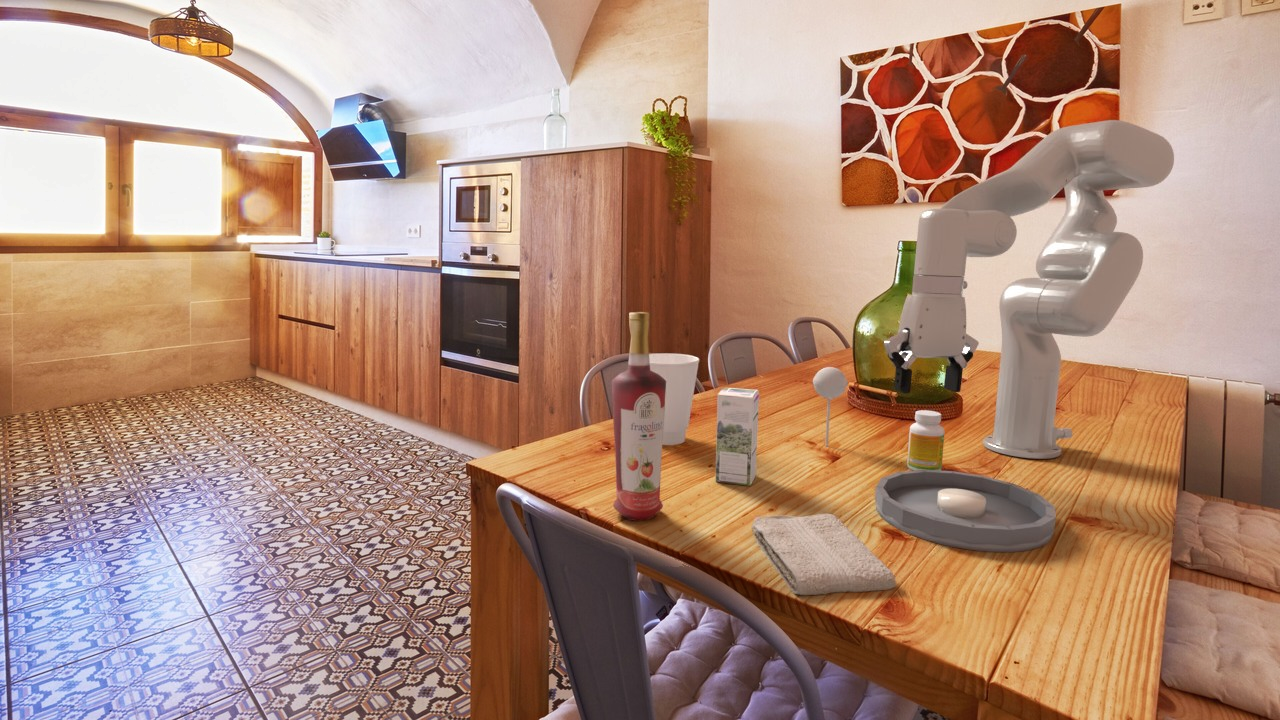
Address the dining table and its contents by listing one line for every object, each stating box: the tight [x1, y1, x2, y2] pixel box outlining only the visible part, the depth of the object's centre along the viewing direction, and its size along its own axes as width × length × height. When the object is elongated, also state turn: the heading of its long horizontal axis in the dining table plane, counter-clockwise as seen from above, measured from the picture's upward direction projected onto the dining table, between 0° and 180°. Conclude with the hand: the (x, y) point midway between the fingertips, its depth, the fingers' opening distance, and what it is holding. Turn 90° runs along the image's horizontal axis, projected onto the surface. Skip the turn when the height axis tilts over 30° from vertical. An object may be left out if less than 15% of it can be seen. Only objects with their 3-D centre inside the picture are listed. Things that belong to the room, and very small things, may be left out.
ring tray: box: [874, 470, 1057, 553], centre depth 93 cm, size 22×22×3 cm
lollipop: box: [812, 366, 848, 447], centre depth 125 cm, size 6×6×15 cm
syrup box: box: [715, 387, 760, 487], centre depth 107 cm, size 6×6×14 cm
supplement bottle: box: [906, 409, 945, 471], centre depth 113 cm, size 5×5×10 cm
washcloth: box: [751, 513, 897, 596], centre depth 81 cm, size 12×18×3 cm, turn 9°
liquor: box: [611, 311, 666, 521], centre depth 91 cm, size 7×7×28 cm
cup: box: [649, 352, 700, 446], centre depth 128 cm, size 12×12×16 cm
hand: (927, 391), depth 111 cm, fingers open, 9 cm apart
